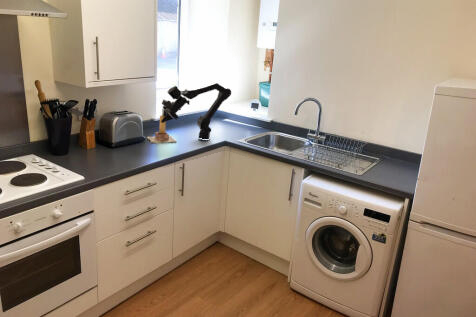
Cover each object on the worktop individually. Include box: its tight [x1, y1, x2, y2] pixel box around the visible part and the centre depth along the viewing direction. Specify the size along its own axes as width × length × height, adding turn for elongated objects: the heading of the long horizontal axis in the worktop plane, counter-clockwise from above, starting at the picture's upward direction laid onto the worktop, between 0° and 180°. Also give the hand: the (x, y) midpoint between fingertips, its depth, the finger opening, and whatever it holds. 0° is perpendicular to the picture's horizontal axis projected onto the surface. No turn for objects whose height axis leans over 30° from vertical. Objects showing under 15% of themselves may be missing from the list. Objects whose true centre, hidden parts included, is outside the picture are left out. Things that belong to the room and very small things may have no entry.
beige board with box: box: [147, 131, 177, 144], centre depth 258 cm, size 16×12×4 cm
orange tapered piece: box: [158, 108, 166, 133], centre depth 255 cm, size 4×4×15 cm
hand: (160, 121), depth 254 cm, fingers closed on orange tapered piece, 4 cm apart
